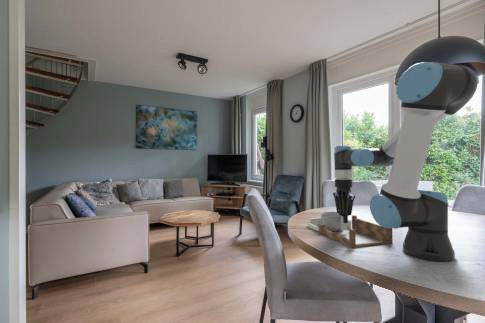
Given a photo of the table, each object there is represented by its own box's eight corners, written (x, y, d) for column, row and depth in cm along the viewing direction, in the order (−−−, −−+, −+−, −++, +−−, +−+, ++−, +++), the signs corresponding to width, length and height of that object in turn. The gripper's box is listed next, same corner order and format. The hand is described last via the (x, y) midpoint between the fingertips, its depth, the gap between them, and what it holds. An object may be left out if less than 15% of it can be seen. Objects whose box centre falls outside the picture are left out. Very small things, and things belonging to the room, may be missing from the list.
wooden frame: (392, 243, 103) (392, 226, 103) (352, 248, 98) (352, 230, 98) (354, 229, 124) (354, 215, 124) (319, 232, 119) (319, 218, 119)
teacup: (347, 232, 119) (347, 215, 119) (324, 232, 120) (324, 215, 120) (337, 225, 133) (337, 210, 133) (316, 225, 134) (316, 210, 134)
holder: (351, 228, 126) (351, 220, 126) (317, 231, 121) (317, 223, 121) (337, 223, 136) (337, 216, 136) (306, 226, 131) (306, 218, 131)
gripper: (359, 179, 112) (360, 232, 112) (341, 177, 124) (341, 225, 124) (345, 179, 110) (346, 234, 110) (328, 178, 122) (328, 226, 122)
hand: (344, 229), depth 117 cm, fingers closed
